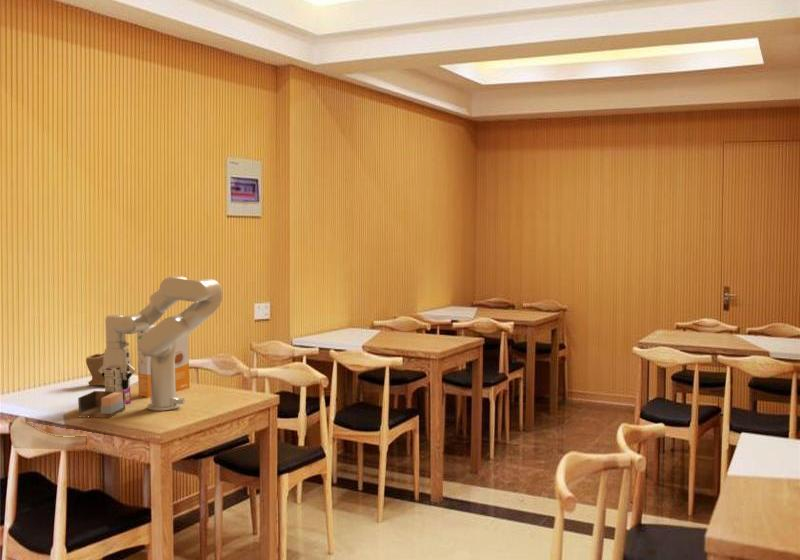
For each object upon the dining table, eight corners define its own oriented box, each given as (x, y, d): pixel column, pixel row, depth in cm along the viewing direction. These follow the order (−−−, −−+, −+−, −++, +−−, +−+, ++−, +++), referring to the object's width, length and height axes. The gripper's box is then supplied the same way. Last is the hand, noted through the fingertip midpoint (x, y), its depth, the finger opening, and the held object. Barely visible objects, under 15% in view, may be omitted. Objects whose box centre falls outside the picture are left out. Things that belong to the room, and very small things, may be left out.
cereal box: (180, 386, 351) (178, 321, 349) (189, 388, 347) (187, 322, 345) (138, 395, 332) (136, 327, 330) (148, 397, 329) (146, 328, 327)
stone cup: (81, 386, 352) (80, 354, 351) (101, 381, 362) (100, 350, 361) (105, 389, 345) (104, 356, 344) (125, 384, 356) (124, 352, 355)
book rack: (125, 410, 307) (124, 391, 306) (110, 417, 294) (109, 398, 294) (94, 409, 308) (94, 391, 308) (78, 417, 296) (77, 398, 295)
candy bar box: (120, 402, 320) (118, 363, 319) (131, 403, 319) (129, 364, 318) (104, 408, 309) (103, 368, 308) (116, 409, 308) (114, 369, 307)
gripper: (140, 344, 315) (141, 387, 316) (100, 343, 317) (102, 386, 318) (132, 347, 308) (133, 391, 309) (91, 346, 310) (92, 390, 311)
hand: (117, 388), depth 314 cm, fingers open, 6 cm apart
